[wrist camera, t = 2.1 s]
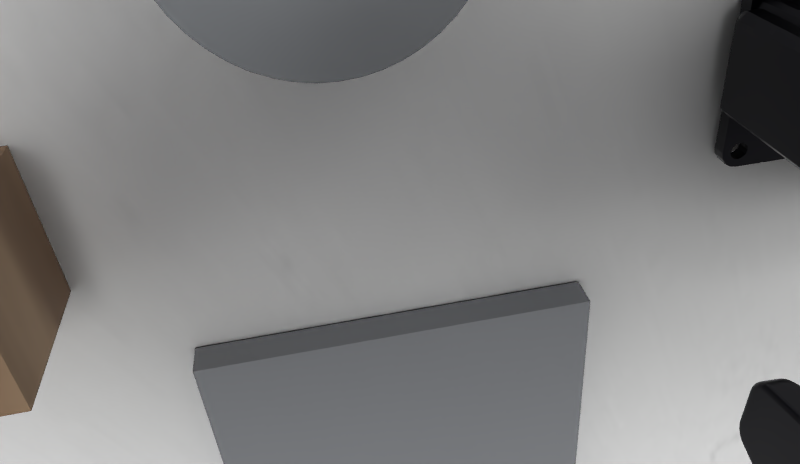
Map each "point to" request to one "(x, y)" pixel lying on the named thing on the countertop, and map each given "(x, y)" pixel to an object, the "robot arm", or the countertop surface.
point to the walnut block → (25, 293)
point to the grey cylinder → (312, 33)
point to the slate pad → (407, 386)
